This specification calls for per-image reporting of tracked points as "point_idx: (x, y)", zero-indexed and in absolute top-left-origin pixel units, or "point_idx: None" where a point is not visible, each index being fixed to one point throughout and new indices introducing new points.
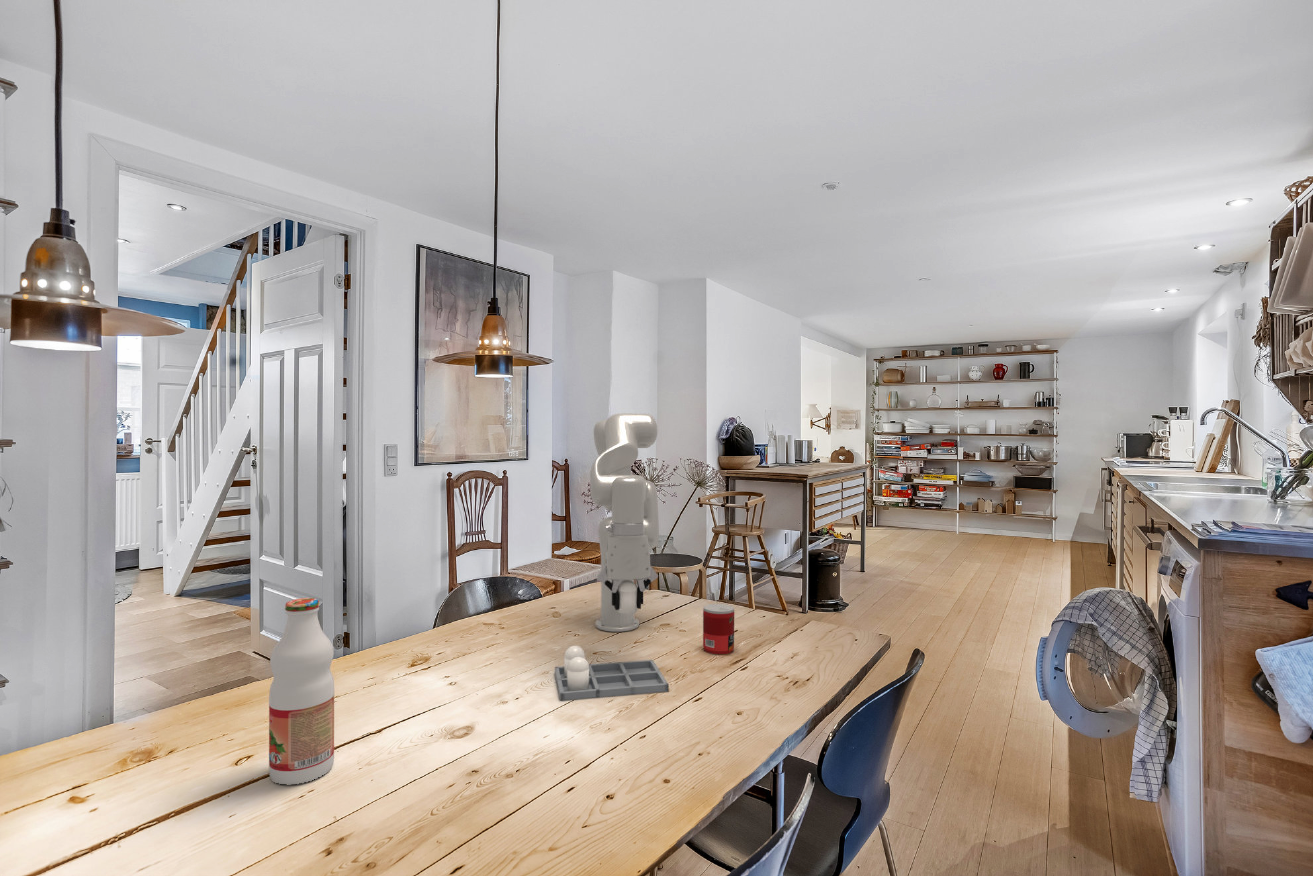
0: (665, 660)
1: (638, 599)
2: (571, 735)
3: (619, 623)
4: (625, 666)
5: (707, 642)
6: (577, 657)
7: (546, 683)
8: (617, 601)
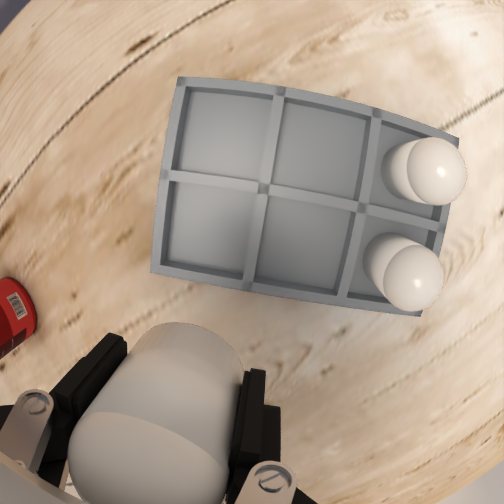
0: (115, 302)
1: (97, 369)
2: (439, 10)
3: None
4: (234, 275)
5: (19, 310)
6: (455, 172)
7: None
8: (253, 402)
